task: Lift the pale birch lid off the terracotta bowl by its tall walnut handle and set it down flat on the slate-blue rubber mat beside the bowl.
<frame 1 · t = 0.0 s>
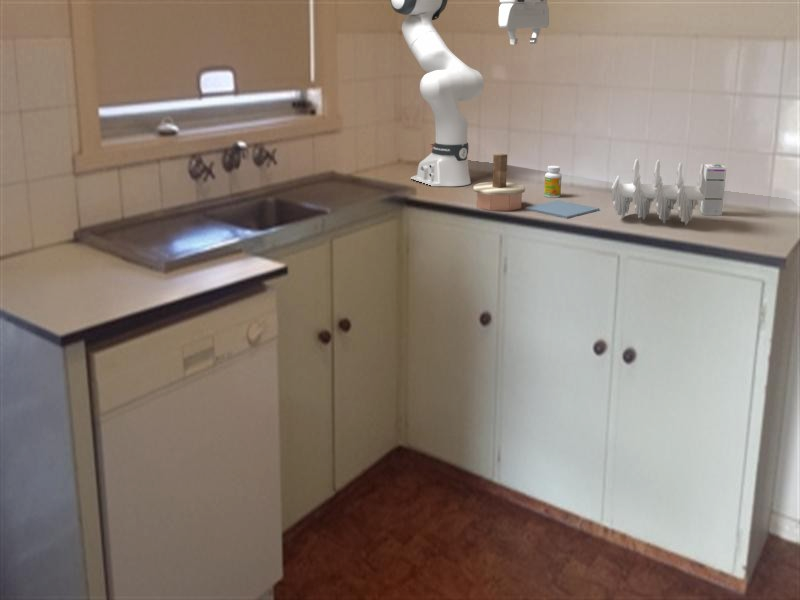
hand: (523, 44, 269), 48 cm above the counter, fingers open, 8 cm apart
bowl: (498, 205, 271), on the counter
supplement bottle: (552, 196, 285), on the counter
lid: (499, 189, 270), point 5 cm above the counter, touching bowl
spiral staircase: (655, 221, 252), on the counter
mat: (562, 209, 265), on the counter
syrup box: (710, 214, 261), on the counter
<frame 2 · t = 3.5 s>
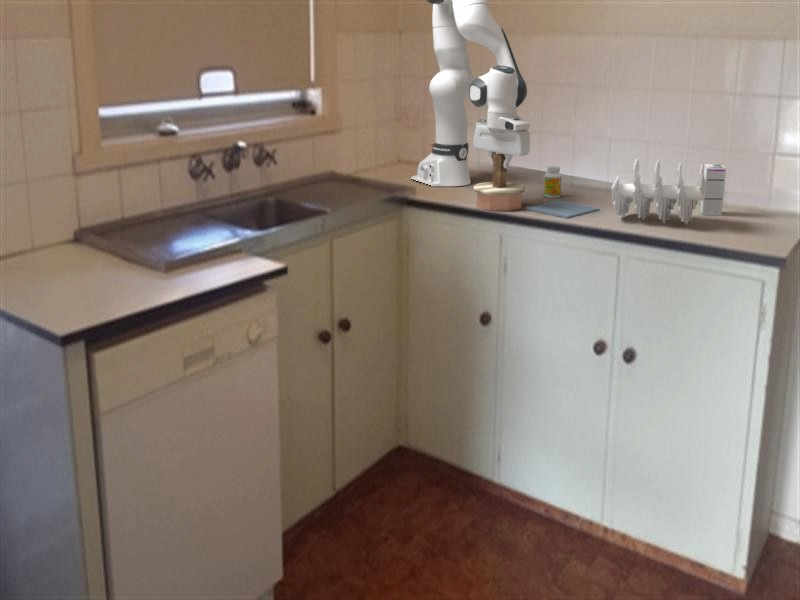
hand: (500, 167, 267), 12 cm above the counter, fingers closed on lid, 3 cm apart
lid: (499, 189, 270), point 5 cm above the counter, touching bowl, gripper
everything else where it was.
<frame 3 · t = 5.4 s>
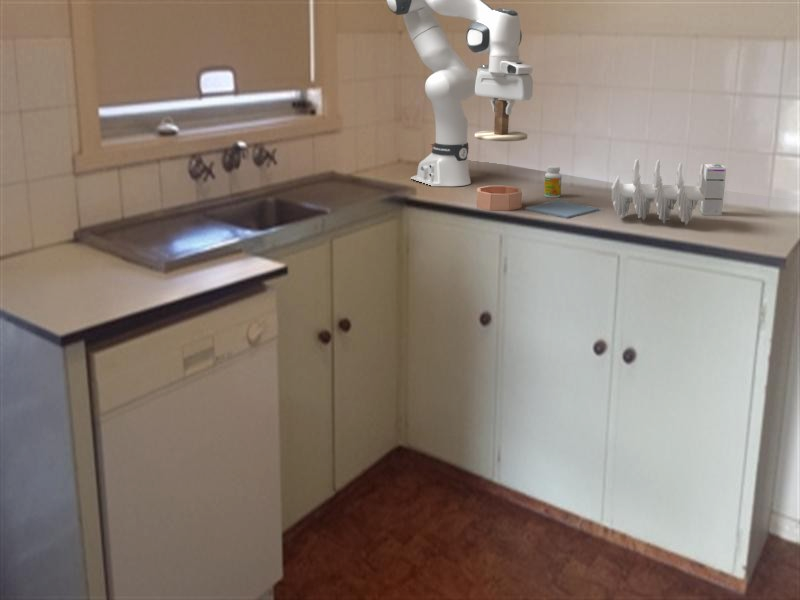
hand: (501, 113, 262), 28 cm above the counter, fingers closed on lid, 3 cm apart
lid: (500, 137, 264), point 21 cm above the counter, touching gripper
everything else where it was.
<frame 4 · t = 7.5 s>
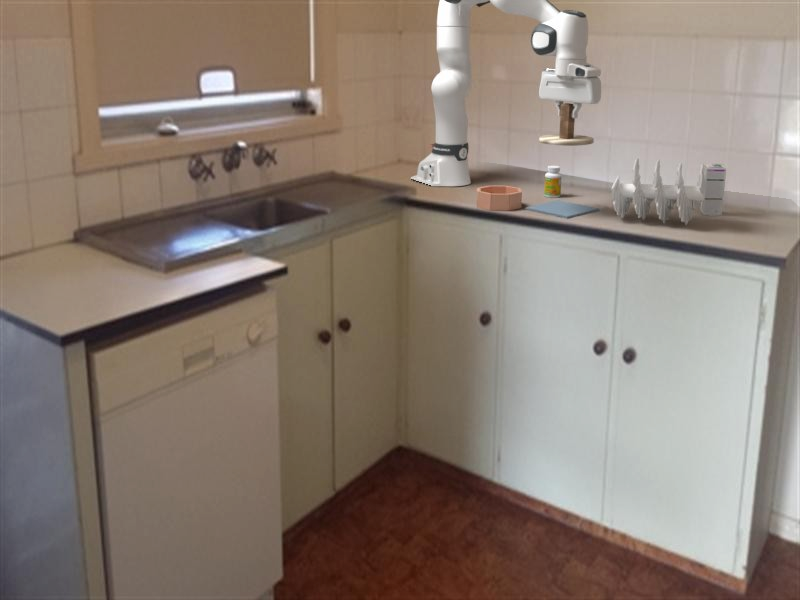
hand: (567, 117, 257), 28 cm above the counter, fingers closed on lid, 3 cm apart
lid: (566, 141, 259), point 21 cm above the counter, touching gripper
everything else where it was.
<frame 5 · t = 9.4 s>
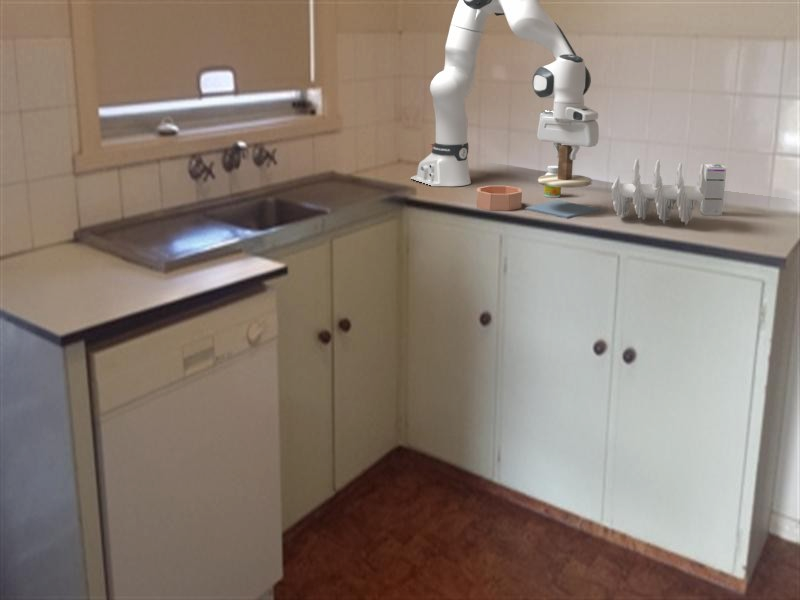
hand: (565, 158, 261), 16 cm above the counter, fingers closed on lid, 3 cm apart
lid: (564, 182, 263), point 9 cm above the counter, touching gripper
everything else where it was.
when the fingers open (10 cm above the counter, at t = 11.3 s): lid drops 2 cm, resting on mat.
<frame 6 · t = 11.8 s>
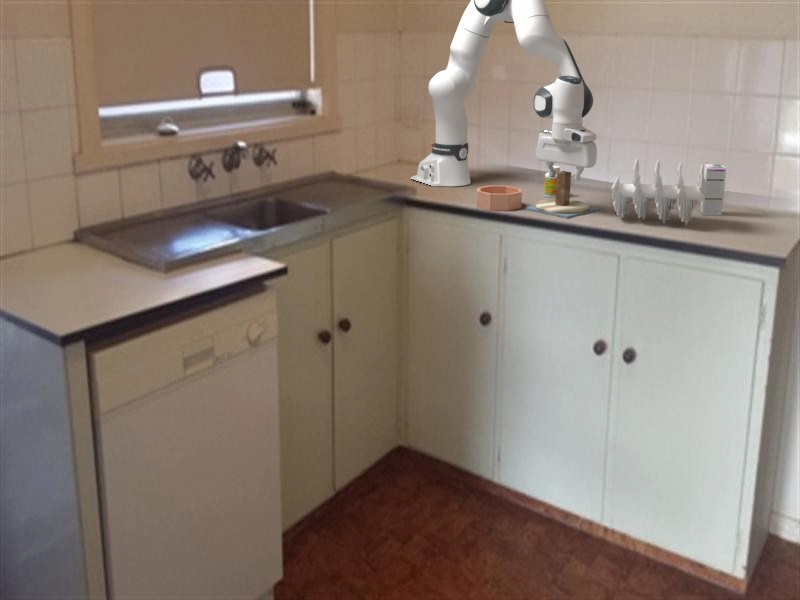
hand: (563, 178, 262), 10 cm above the counter, fingers open, 8 cm apart
lid: (562, 207, 265), point 1 cm above the counter, touching mat
everything else where it was.
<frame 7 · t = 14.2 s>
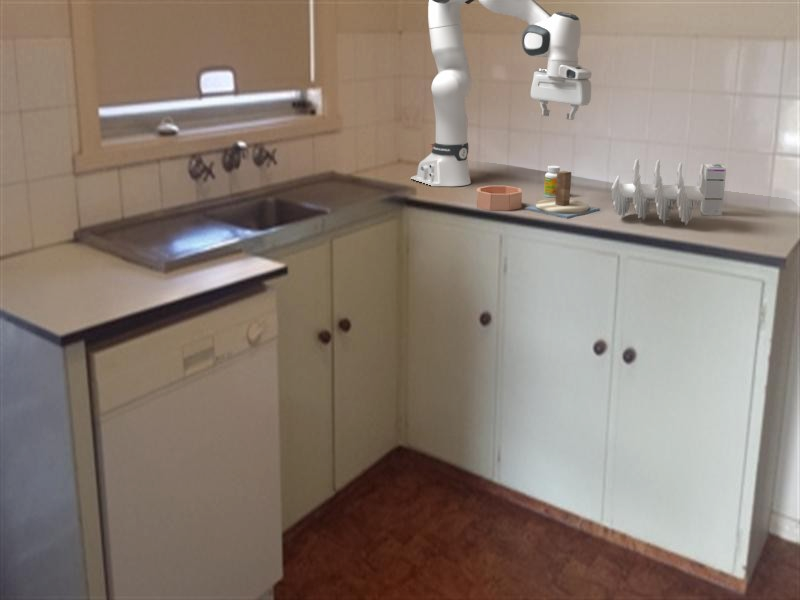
hand: (557, 117, 261), 27 cm above the counter, fingers open, 8 cm apart
nothing on the counter moved.
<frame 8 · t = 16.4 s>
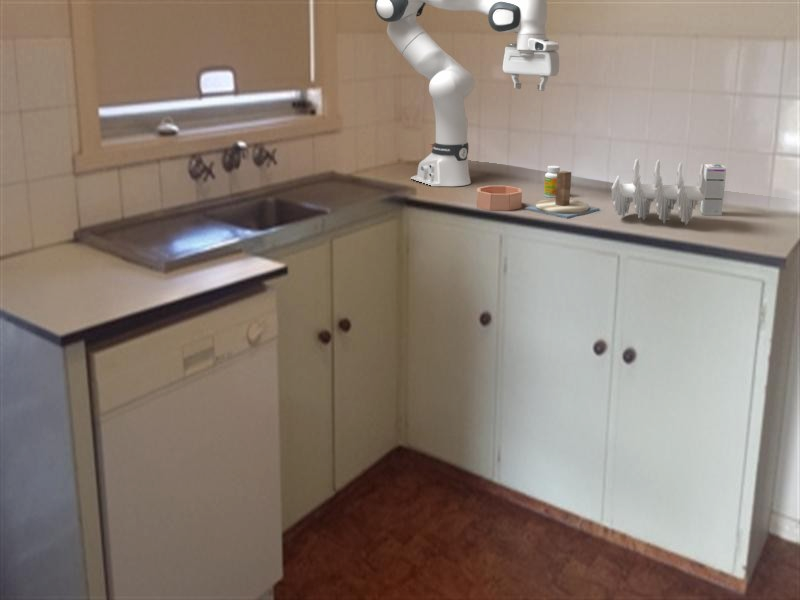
hand: (529, 89, 274), 34 cm above the counter, fingers open, 8 cm apart
nothing on the counter moved.
at the end: lid inside the target area on the mat (0.1 cm from its centre), point 0.6 cm above the mat's base; lid touching mat; lid tilted 0° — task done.
